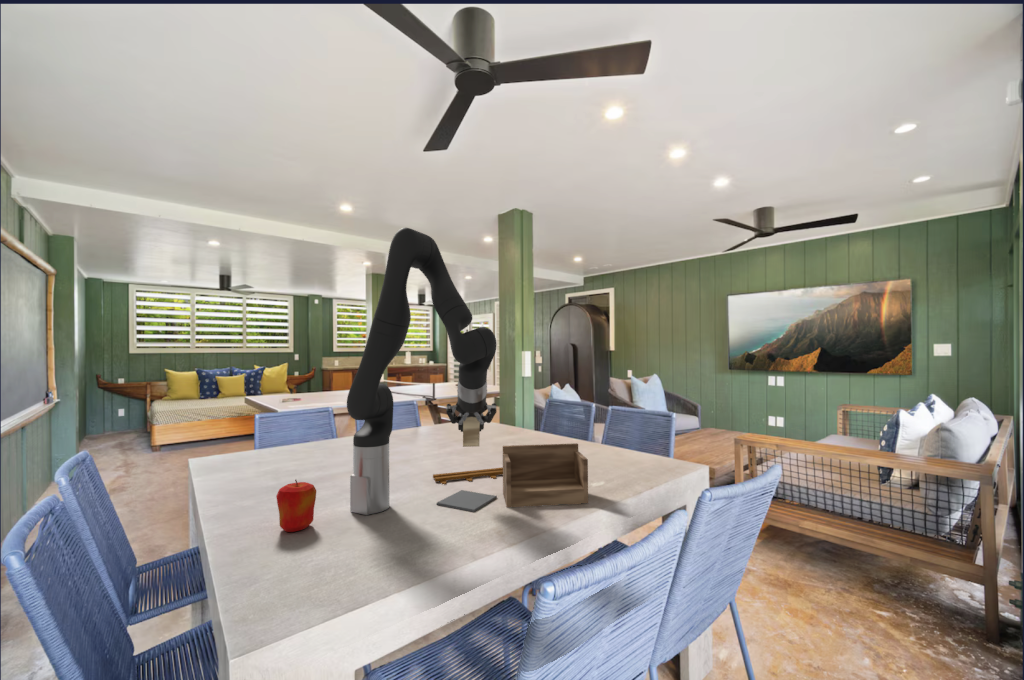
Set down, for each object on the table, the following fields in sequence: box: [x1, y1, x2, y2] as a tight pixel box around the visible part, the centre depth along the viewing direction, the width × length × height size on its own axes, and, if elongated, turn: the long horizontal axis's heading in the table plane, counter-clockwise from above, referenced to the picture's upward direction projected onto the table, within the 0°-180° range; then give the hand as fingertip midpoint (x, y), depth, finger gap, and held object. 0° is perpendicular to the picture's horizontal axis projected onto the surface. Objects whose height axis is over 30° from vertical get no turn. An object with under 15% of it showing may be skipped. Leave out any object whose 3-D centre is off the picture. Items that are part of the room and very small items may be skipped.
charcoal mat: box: [436, 489, 498, 513], centre depth 123 cm, size 12×12×1 cm
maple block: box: [462, 417, 481, 448], centre depth 123 cm, size 4×4×10 cm
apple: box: [275, 479, 317, 533], centre depth 105 cm, size 9×8×12 cm
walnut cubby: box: [502, 443, 589, 508], centre depth 125 cm, size 11×22×14 cm, turn 96°
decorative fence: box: [432, 466, 503, 485], centre depth 147 cm, size 25×2×10 cm
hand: (470, 428), depth 125 cm, fingers closed on maple block, 4 cm apart
